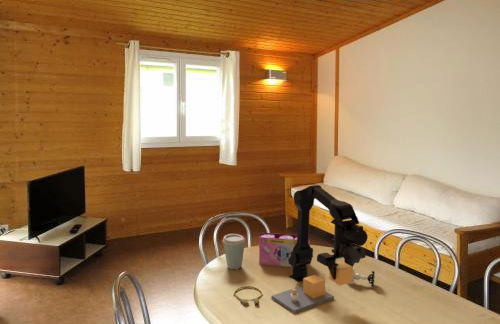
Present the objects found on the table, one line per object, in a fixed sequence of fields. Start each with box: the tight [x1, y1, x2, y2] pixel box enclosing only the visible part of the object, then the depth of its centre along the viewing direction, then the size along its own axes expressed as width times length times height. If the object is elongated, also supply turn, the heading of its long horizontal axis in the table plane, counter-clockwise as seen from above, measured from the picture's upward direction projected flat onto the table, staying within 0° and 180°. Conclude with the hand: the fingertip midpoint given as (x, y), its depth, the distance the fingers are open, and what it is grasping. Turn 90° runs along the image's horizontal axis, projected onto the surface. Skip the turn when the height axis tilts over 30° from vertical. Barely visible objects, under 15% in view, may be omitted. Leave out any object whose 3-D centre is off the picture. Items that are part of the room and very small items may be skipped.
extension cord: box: [233, 285, 263, 307], centre depth 158 cm, size 12×16×2 cm
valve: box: [347, 267, 376, 287], centre depth 168 cm, size 7×7×12 cm
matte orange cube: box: [329, 260, 354, 286], centre depth 149 cm, size 6×6×6 cm
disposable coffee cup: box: [222, 233, 246, 270], centre depth 186 cm, size 11×11×15 cm
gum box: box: [258, 232, 311, 268], centre depth 191 cm, size 24×8×14 cm, turn 77°
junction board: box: [270, 274, 335, 314], centre depth 155 cm, size 14×20×7 cm
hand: (340, 277), depth 149 cm, fingers closed on matte orange cube, 6 cm apart
